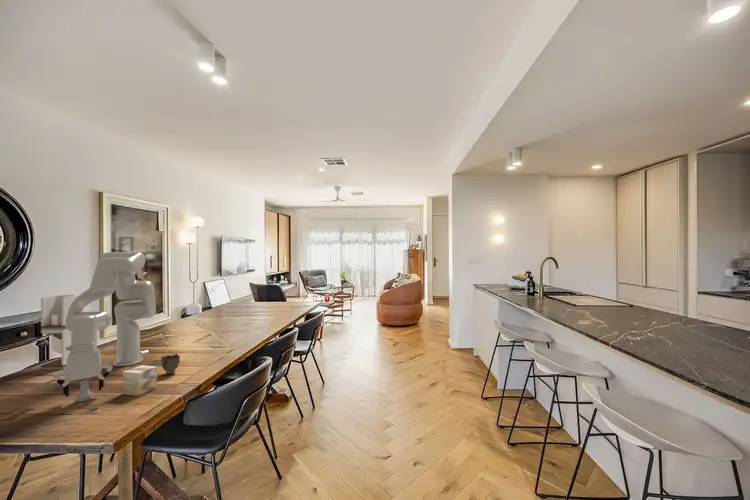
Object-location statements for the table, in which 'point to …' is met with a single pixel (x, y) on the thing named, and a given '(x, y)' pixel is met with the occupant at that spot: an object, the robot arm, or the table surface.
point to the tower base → (139, 387)
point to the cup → (170, 363)
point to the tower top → (139, 374)
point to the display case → (56, 327)
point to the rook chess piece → (84, 390)
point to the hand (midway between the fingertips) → (84, 392)
